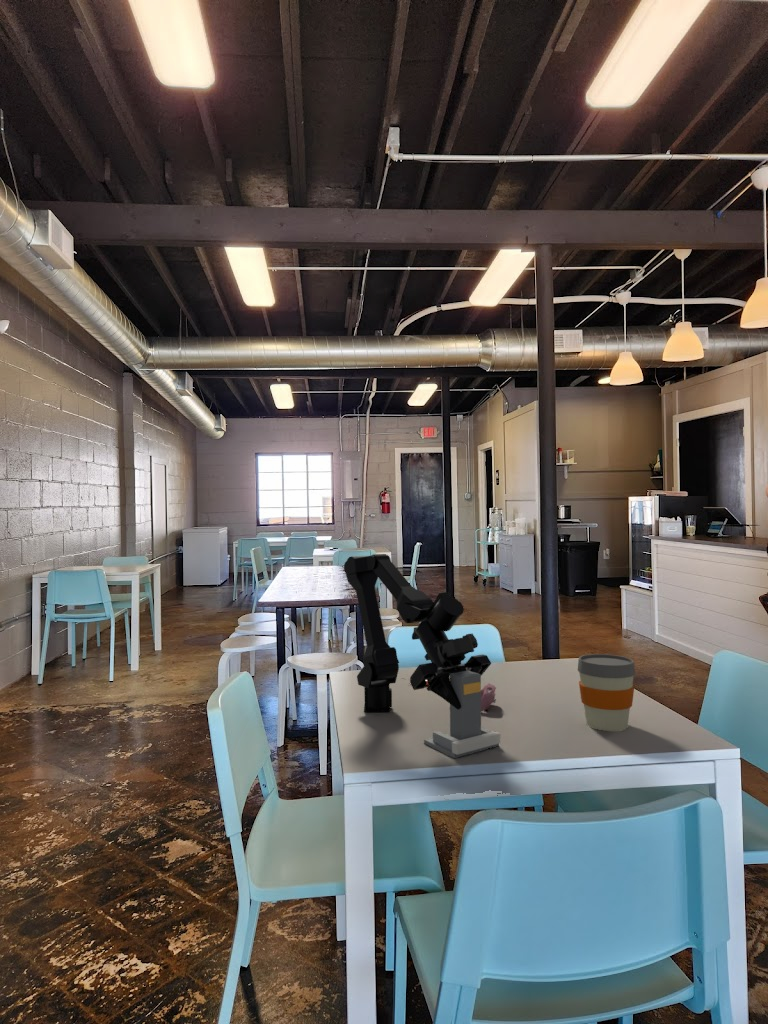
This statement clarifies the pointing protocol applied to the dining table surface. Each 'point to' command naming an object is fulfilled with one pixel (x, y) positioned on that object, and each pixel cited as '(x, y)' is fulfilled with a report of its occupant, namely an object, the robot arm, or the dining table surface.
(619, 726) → the reusable coffee cup
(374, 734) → the dining table surface
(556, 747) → the dining table surface
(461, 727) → the block
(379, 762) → the dining table surface
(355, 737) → the dining table surface
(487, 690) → the video game controller
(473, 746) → the rail plate
